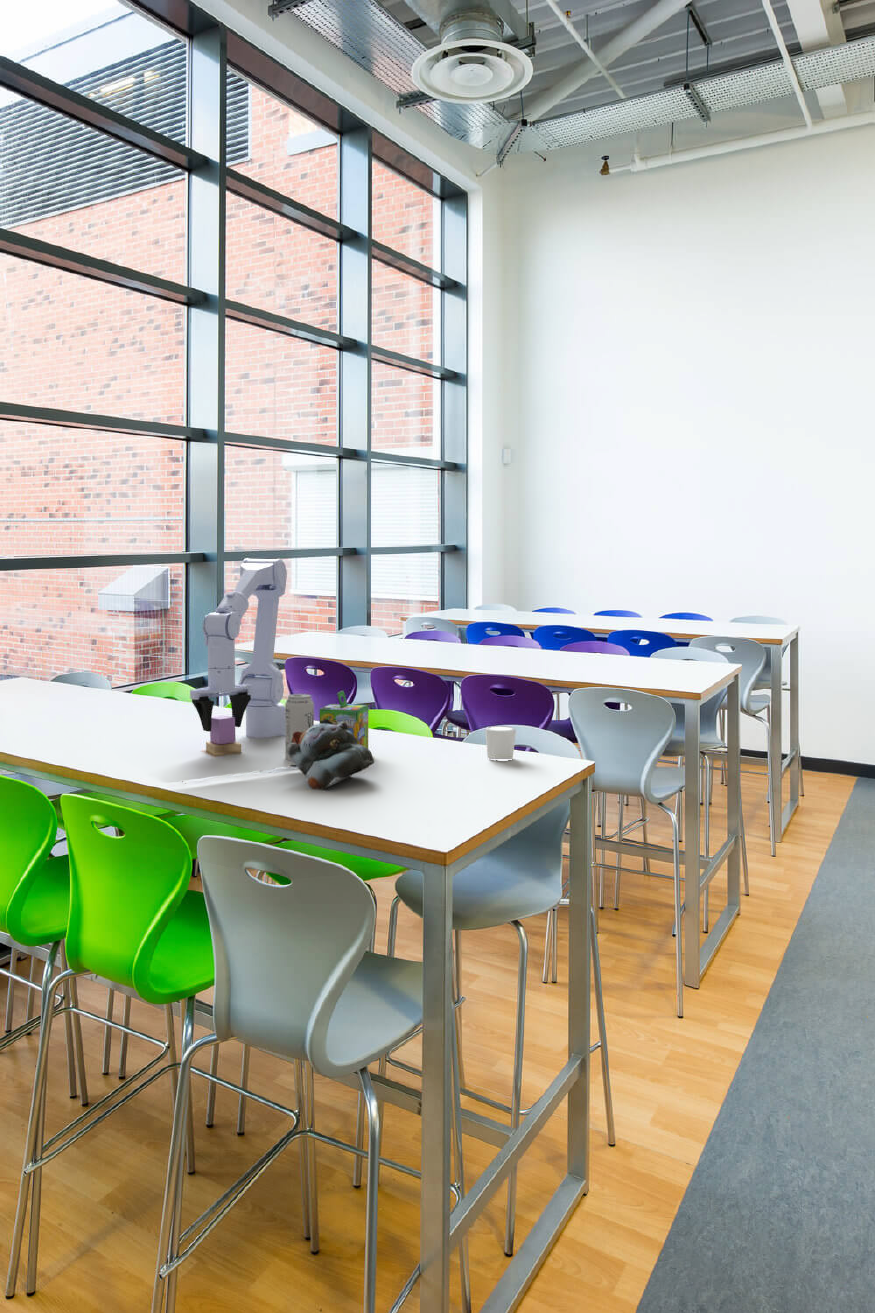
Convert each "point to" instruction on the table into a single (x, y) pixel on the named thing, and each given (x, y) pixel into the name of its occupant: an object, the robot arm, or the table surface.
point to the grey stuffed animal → (328, 754)
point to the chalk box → (348, 717)
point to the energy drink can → (297, 717)
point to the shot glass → (500, 742)
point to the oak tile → (223, 748)
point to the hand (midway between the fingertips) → (222, 728)
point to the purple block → (223, 730)
